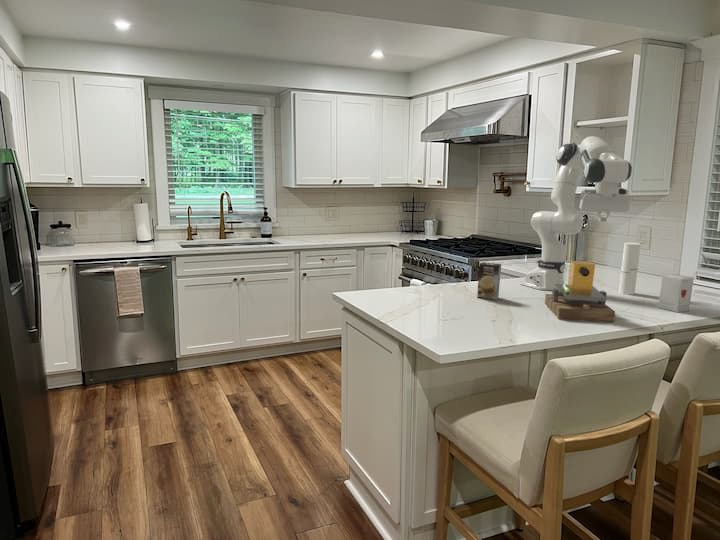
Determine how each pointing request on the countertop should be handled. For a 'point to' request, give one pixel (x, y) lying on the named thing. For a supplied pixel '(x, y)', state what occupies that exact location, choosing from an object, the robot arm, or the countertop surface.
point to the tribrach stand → (579, 308)
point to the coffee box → (489, 280)
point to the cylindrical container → (629, 268)
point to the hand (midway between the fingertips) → (602, 221)
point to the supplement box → (675, 292)
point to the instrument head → (580, 283)
